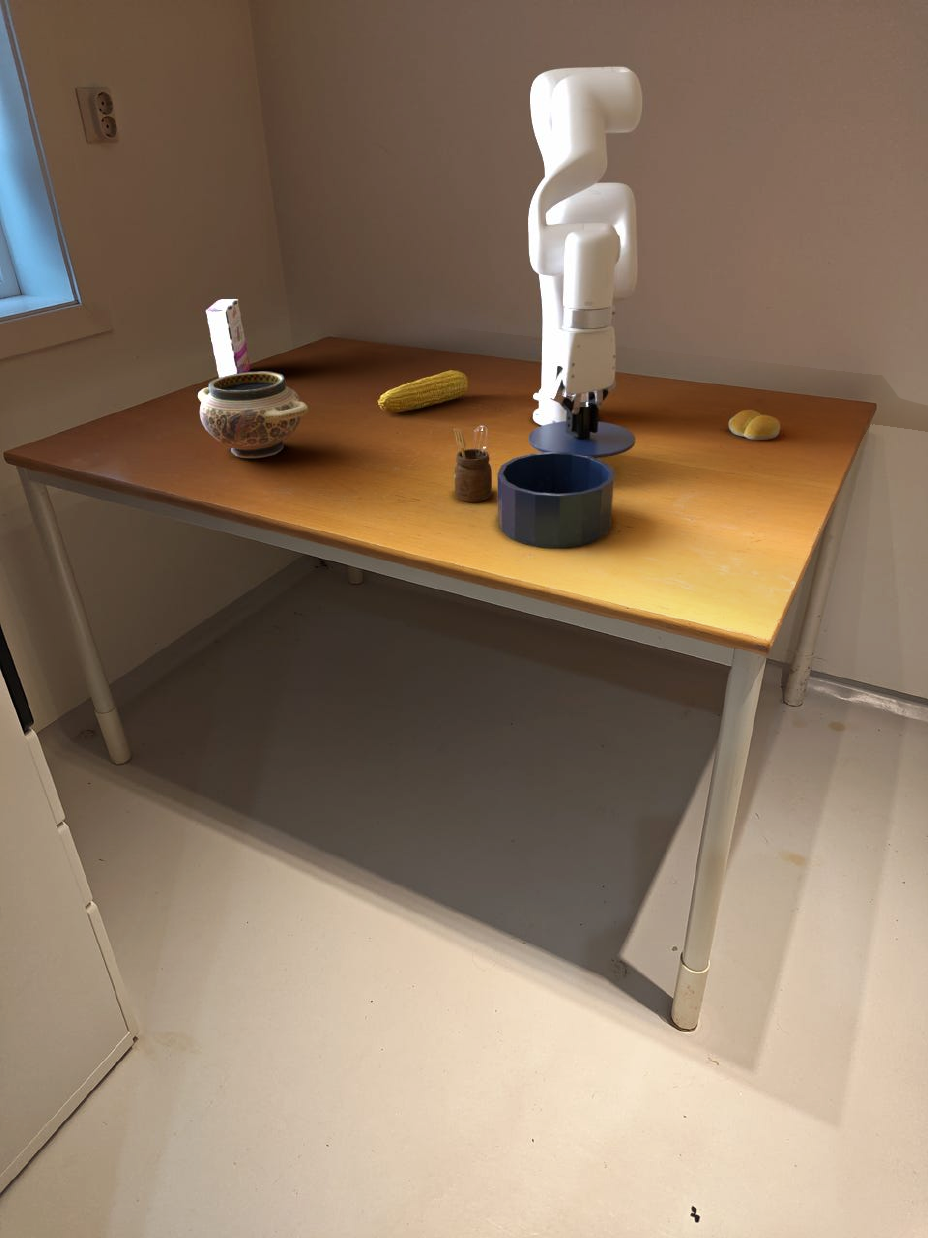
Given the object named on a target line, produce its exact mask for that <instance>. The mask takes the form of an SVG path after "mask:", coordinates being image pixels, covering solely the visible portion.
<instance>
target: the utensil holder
mask: <svg viewBox="0 0 928 1238" xmlns="http://www.w3.org/2000/svg"><path fill="white" fill-rule="evenodd" d="M483 428H484V429H485V434H487V435H485V439H484V441H486V443H484V445H483V448H482V449H481V445H482V444H481V443H479V444H478V448H477V444H476V443H477V440H475V438H477V434H478V433H476V432H478V431H479V429H480V430H483ZM453 432H454V435H455V440H456V445H457V446H458V447H459V448H460V451H458V452H457V453H456V458H455V461H456V465H455V466H454V492H455V496H456V498H457V499H458V500H460V501H463V502H467V503H479V502H483V501H486V500H488V499H490V497H491V495H492V492H493V471H492V466H491V464H490V454H489V452H488V451H486V448H487V446H488V443H489V441H487V440H488V437H489V433H490V432H489V431H488V428H487V427H486V426H484V425H479V426H477V427H476V428H475V430H474V435H472V436H473V437H472V438H473V439H472V440H474V444H472V445H473V447H474V448H467V449H465V448H466V447H467V445H466V441H465V437H464V434H463V429H459V428H456V427H454V428H453ZM479 434H480V436H479V438H480V440H482V436H483V435H482V433H479ZM474 436H475V437H474Z"/></svg>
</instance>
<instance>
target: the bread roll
mask: <svg viewBox="0 0 928 1238" xmlns="http://www.w3.org/2000/svg"><path fill="white" fill-rule="evenodd" d="M728 428H729V431H730V432H731V433H732V434H733V435H736V436H738V437H742V438H743V437H744V438H746V439H748V440H751V441H768V440H772V439H775V438H777V437H778V436H779V434H780V430H781V422H780V421H779V419H777V418H776V417H774V416H771V415H768V414H761V413H759V412H758V411H756V410H753V409H744V410H741V411H739V412H737V413H736V414H735V415H734V416H732V417H731V418H730V419H729V420H728Z"/></svg>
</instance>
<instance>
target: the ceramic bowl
mask: <svg viewBox="0 0 928 1238" xmlns="http://www.w3.org/2000/svg"><path fill="white" fill-rule="evenodd" d="M197 397H198V400H199V401H200V402H201V404H200V407H199V416H200V420H201V424H202V426H203V427H204V429H205V430H206V432H208V434H209V435H210V436H211V437H213V438H214V439H215V440H216V441H218V442H219V443H221V444H223V445H224V446H226V447H229V448H230V452H231V453H232V454H233V455H234V456H236V457H237V458H241V459H261V458H262V459H263V458H266V457H271V456H274V455H276V454H278V453H280V452H281V451H282V450H283V449H284V448H285V444H284V441H285V440H287V439H288V438H289V437H290V436H292V434H293V433H294V432H295V430H296V429H297V427H298V426H299V425H300V422H301V419H302V416H304V415H306V414H307V413H308V411H309V408H308V405H307V404H306V403H305V402H303V401H302V400H301V398H300V396H299V395H298V394H297V392H296V391H295V390H294V389H292V388H291V387H289V386H287V384H286V378H285V376H284V375H283V374H281V373H278V372H273V371H265V370H264V371H249V372H246V373H238V374H233V375H228V376H224V377H220V378H219V377H217V378H215V379H213V380H211V381H210V382H209V383H208V387H204V388H202V389H201V390H200V391H199V392H198V394H197Z"/></svg>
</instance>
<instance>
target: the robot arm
mask: <svg viewBox="0 0 928 1238" xmlns="http://www.w3.org/2000/svg"><path fill="white" fill-rule="evenodd" d="M641 86H642V85H641V82H640V80H639V77H638V76H637V74H636V73H635V72H634V71H633V70H632V69H630V68H628V67H626V66H595V67H594V66H593V67H589V66H588V67H586V66H585V67H563V68H556V69H555V68H554V69H550V70H546V71H544V72H542V73H540V74H539V75H537V76H536V78H535V79H534V80H533V82H532V85H531V89H530V97H529V100H530V103H529V104H530V115H531V123H532V126H533V127H532V128H533V132H534V136H535V138H536V142H537V144H538V147H539V150H540V153H541V155H542V160H543V163H544V164H543V165H544V178H543V179H542V180H541V182H540V183H539V185H538V186H537V188H536V190H535V192H534V194H533V196H532V198H531V202H530V206H529V211H528V254H529V262H530V265H531V267H532V269H533V271H534V272H535V273H537V274H538V278H539V285H540V286H539V287H540V294H541V304H542V305H541V306H542V347H541V349H542V350H541V351H542V352H541V358H542V359H541V388H540V389H539V391H538V392H535V393H534V394H533V396H532V398H533V400H535V401H537V402H538V408H537V409H535V410H534V411H533V412H532V419H533V421H534V422H535V423H536V424H538V425H540V426H543V425H547V424H551V423H556V422H563V421H566V433H567V434H570V435H572V436H575V437H580V436H581V424H582V413H579V408H580V402H588V403H591V404H592V411H591V430H590V432H592V433H597V432H598V422H599V416H600V409H601V408H602V407H603V406H604V401H605V400H606V398H608V396H609V394H610V393H611V392H612V391H614V390H615V389H616V388H617V385H618V384H617V381H616V378H615V377H616V365H617V363H616V361H617V360H616V359H617V358H616V357H617V356H616V355H617V351H616V350H617V349H616V337H615V336H616V335H615V328H614V325H613V324H612V320H613V319H612V317H613V316H614V315H615V314H616V307H615V306H614V305H613V302H618V301H619V302H620V301H625V300H628V299H629V298H631V297H632V296H633V294H634V293H635V290H636V287H637V282H638V232H637V231H638V229H637V225H638V224H637V205H636V199H635V195H634V192H633V190H632V188H631V187H630V186H629V185H628V184H626V183H623V182H614V181H613V182H599V181H600V180H601V179H602V178H603V177H604V175H605V174H606V171H607V168H608V150H607V149H608V148H607V134H621V133H623V134H624V133H631V132H633V131H635V130H636V128H637V127H638V125H639V123H640V121H641V118H642V113H643V91H642V87H641Z"/></svg>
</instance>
